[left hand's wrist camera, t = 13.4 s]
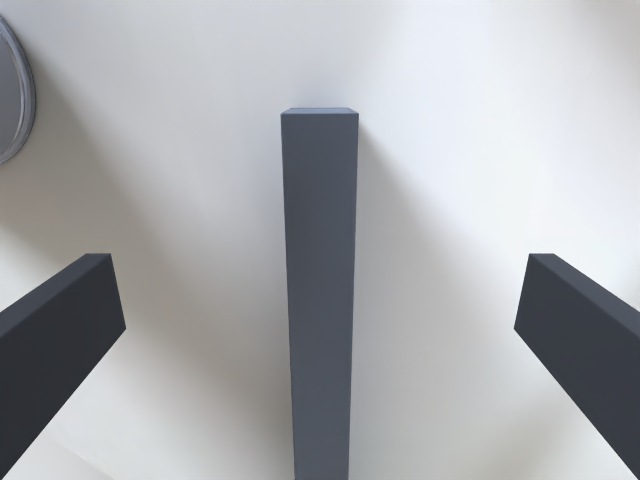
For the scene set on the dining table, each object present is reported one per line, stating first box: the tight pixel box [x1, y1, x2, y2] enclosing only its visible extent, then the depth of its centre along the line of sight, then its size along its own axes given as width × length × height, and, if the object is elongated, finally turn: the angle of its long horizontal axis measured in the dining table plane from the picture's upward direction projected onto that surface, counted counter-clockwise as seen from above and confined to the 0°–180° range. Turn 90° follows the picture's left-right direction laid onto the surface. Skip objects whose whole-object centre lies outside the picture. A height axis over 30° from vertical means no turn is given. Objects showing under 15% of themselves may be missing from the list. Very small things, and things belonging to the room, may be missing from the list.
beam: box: [281, 108, 359, 480], centre depth 37 cm, size 53×5×9 cm, turn 0°
